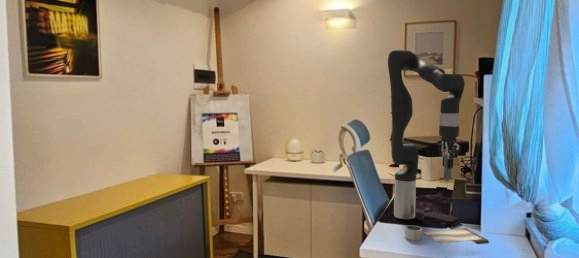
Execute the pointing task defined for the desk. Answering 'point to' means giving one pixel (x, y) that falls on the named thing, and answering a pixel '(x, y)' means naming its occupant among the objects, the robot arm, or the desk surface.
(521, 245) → the desk surface
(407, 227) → the pen cup
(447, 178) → the marker
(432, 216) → the carrying case or bag
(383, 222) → the desk surface
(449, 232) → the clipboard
